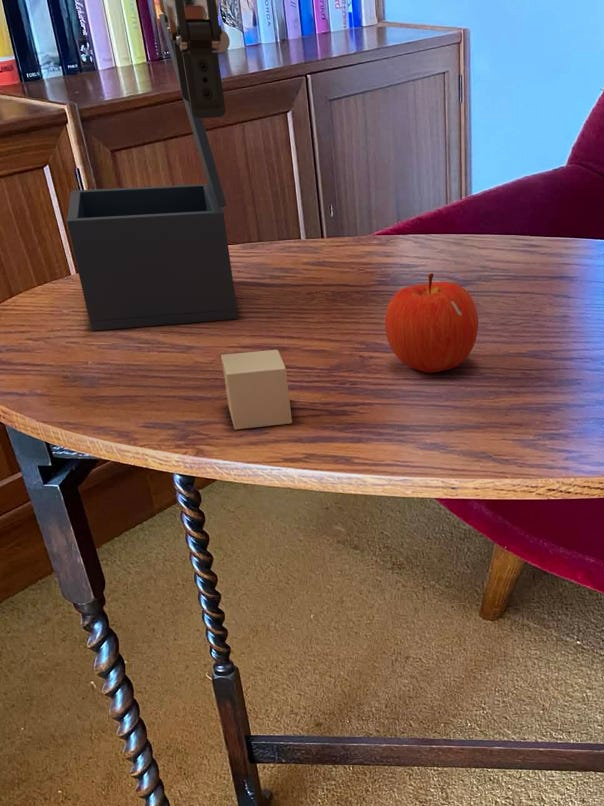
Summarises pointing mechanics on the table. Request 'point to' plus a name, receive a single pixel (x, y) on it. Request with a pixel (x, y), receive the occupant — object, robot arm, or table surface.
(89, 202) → the chest
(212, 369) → the table surface
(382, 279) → the table surface
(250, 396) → the block
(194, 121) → the lid
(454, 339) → the apple
